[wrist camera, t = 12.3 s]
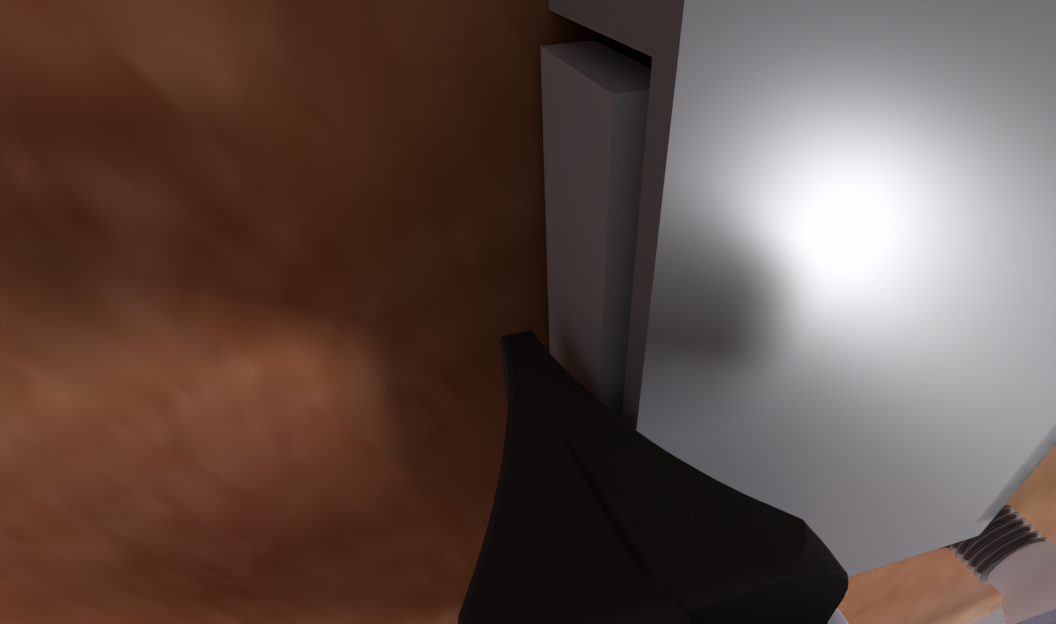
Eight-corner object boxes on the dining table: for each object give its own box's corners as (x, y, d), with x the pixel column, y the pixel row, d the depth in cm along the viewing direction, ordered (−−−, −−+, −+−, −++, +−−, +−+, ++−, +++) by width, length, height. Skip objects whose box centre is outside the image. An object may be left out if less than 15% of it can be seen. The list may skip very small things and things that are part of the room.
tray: (553, 485, 17) (590, 588, 14) (540, 45, 9) (612, 94, 7) (854, 408, 19) (935, 487, 16) (1046, -8, 11) (1257, 14, 9)
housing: (558, 502, 18) (615, 664, 14) (547, -60, 9) (706, -44, 5) (864, 422, 20) (987, 544, 16) (1119, -99, 11) (1558, -111, 7)
